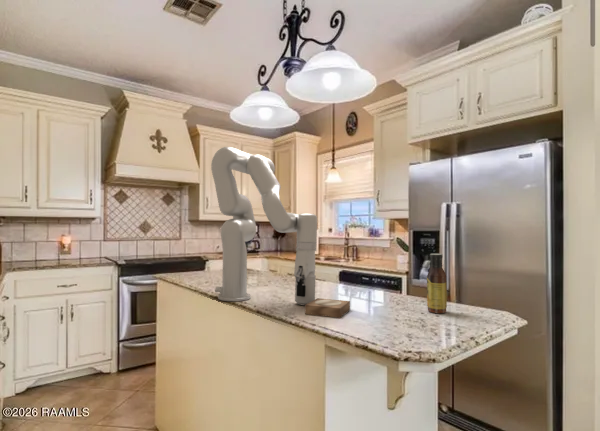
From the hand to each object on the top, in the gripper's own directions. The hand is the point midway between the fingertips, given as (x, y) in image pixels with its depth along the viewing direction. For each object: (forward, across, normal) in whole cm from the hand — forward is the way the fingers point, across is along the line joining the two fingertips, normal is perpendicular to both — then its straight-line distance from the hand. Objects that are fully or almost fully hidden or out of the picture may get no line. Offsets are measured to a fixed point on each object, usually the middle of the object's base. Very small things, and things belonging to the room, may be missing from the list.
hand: (305, 294), depth 137 cm
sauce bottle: (+3, -7, +46) cm, 46 cm away
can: (+4, 0, 0) cm, 4 cm away
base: (+3, +8, +12) cm, 14 cm away
